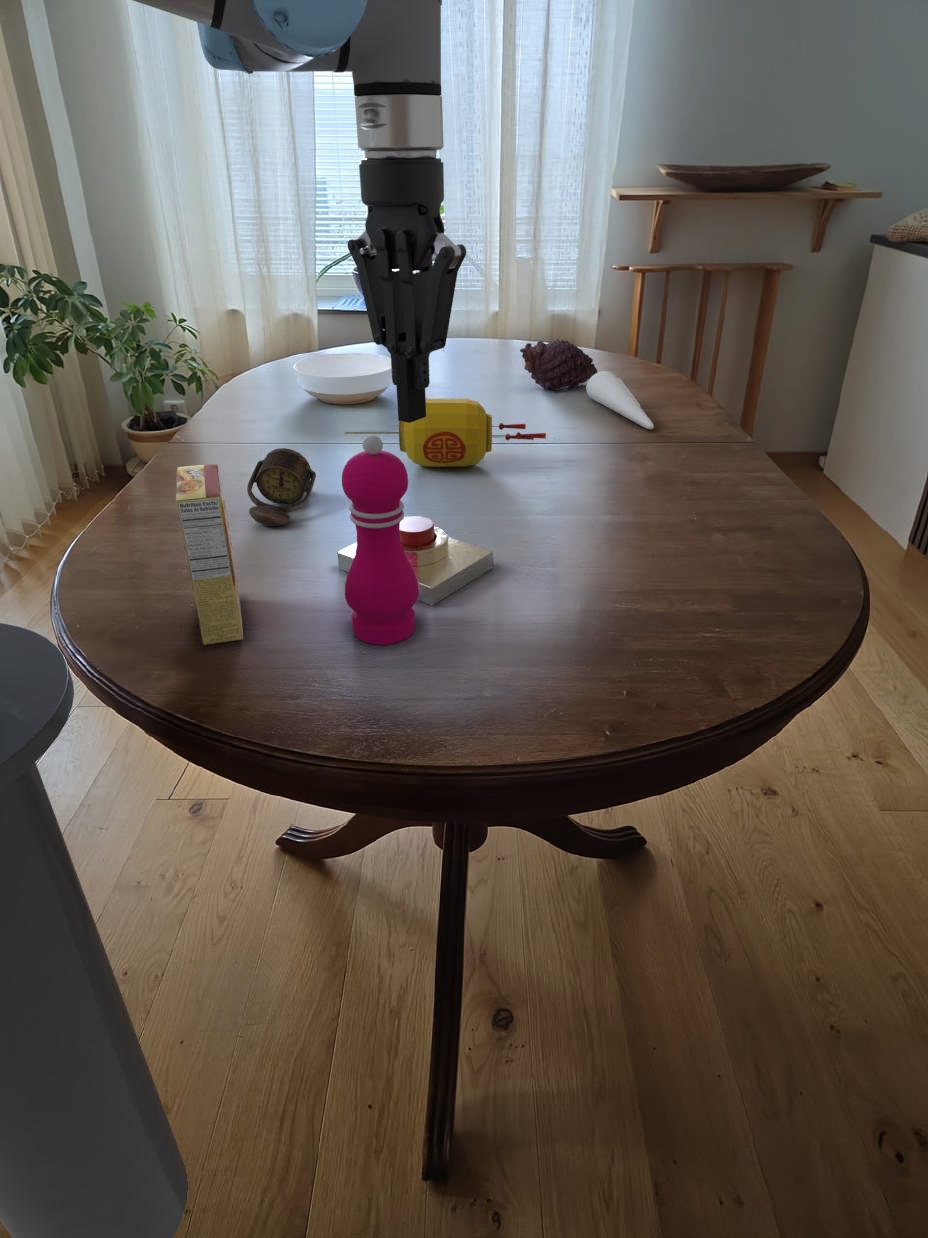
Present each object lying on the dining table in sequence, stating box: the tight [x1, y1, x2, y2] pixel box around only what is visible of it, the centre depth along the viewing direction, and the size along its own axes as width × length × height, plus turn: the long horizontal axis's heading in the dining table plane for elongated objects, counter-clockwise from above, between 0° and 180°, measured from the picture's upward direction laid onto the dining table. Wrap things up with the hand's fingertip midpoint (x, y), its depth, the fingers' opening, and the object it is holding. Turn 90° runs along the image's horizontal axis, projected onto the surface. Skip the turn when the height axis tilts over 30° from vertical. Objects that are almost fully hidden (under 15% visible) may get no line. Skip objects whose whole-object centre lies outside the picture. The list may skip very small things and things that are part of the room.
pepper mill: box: [341, 434, 419, 646], centre depth 74 cm, size 7×7×20 cm
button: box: [399, 515, 435, 547], centre depth 88 cm, size 4×4×2 cm
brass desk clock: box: [246, 447, 317, 527], centre depth 104 cm, size 7×13×10 cm
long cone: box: [585, 370, 655, 431], centre depth 141 cm, size 6×6×19 cm
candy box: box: [175, 463, 244, 646], centre depth 77 cm, size 9×4×15 cm, turn 17°
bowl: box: [292, 352, 393, 405], centre depth 151 cm, size 20×20×6 cm
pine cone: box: [519, 339, 598, 391], centre depth 157 cm, size 18×10×10 cm
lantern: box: [344, 398, 547, 468], centre depth 118 cm, size 10×10×30 cm
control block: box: [337, 525, 494, 607], centre depth 90 cm, size 14×11×4 cm
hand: (412, 418), depth 82 cm, fingers closed
